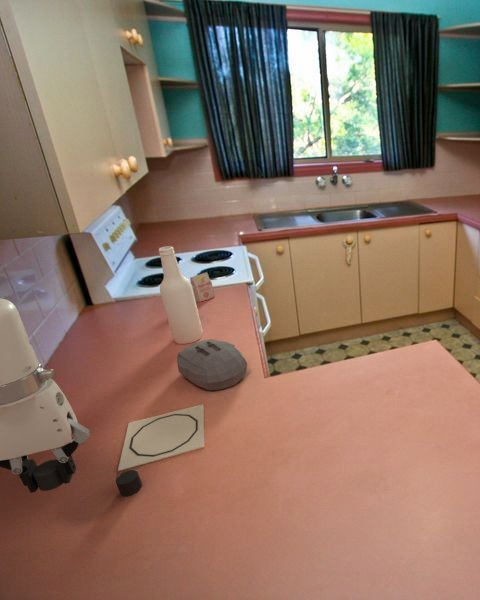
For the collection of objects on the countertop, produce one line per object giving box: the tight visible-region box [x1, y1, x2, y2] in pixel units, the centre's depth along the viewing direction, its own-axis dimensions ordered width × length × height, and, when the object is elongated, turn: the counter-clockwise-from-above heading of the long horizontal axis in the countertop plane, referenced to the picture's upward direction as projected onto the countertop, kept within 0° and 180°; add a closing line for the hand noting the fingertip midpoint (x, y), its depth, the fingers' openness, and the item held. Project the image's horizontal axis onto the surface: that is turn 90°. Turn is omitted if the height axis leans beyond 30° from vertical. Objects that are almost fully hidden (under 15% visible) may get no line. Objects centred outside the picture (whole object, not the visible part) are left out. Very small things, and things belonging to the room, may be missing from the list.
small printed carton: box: [189, 272, 216, 304], centre depth 164 cm, size 4×7×10 cm, turn 144°
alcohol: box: [158, 245, 204, 345], centre depth 130 cm, size 9×9×30 cm
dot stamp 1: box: [33, 458, 64, 492], centre depth 67 cm, size 4×4×3 cm
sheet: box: [117, 403, 206, 473], centre depth 94 cm, size 16×16×1 cm
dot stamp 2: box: [115, 469, 143, 497], centre depth 80 cm, size 4×4×3 cm
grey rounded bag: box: [176, 338, 248, 391], centre depth 115 cm, size 15×8×20 cm
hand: (52, 480), depth 67 cm, fingers closed on dot stamp 1, 3 cm apart
